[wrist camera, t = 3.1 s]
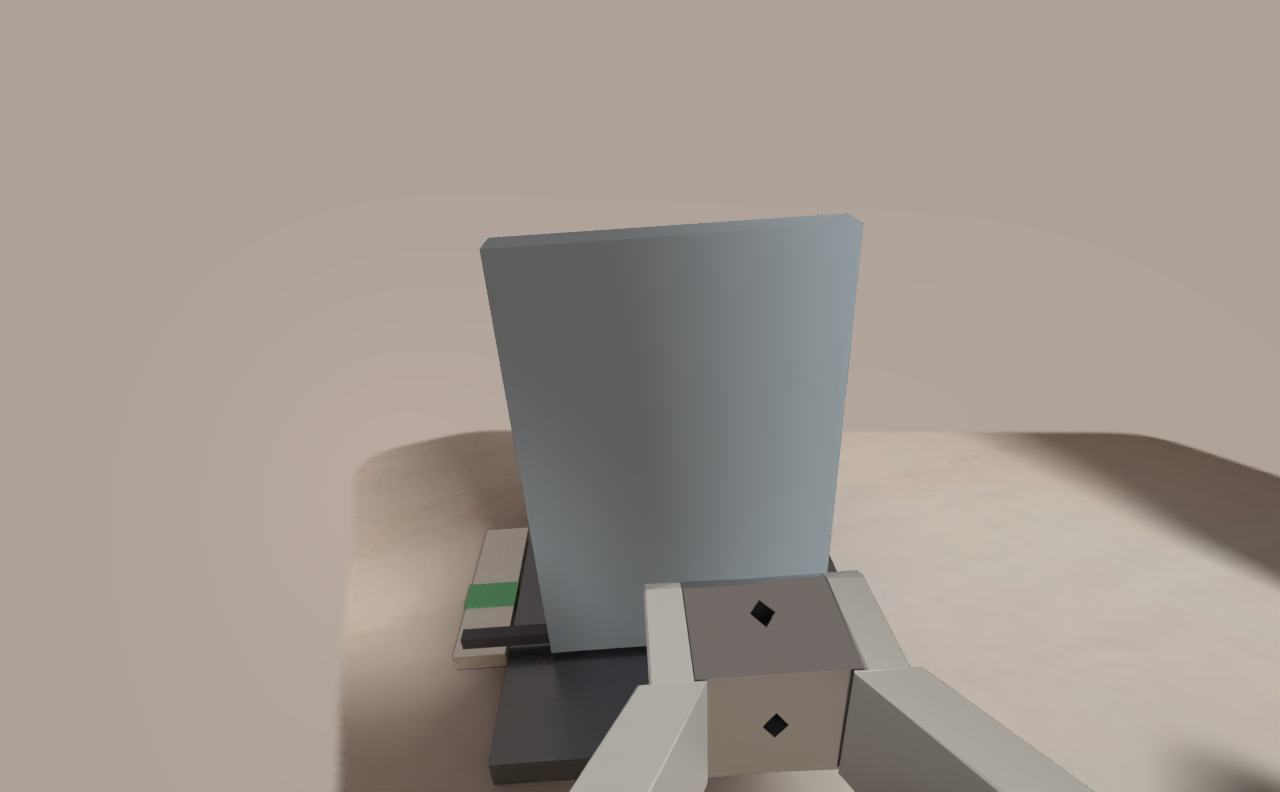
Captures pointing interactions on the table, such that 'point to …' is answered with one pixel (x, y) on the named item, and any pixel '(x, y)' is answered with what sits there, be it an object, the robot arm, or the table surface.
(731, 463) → the grey upright panel
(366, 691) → the table surface
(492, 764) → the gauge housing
